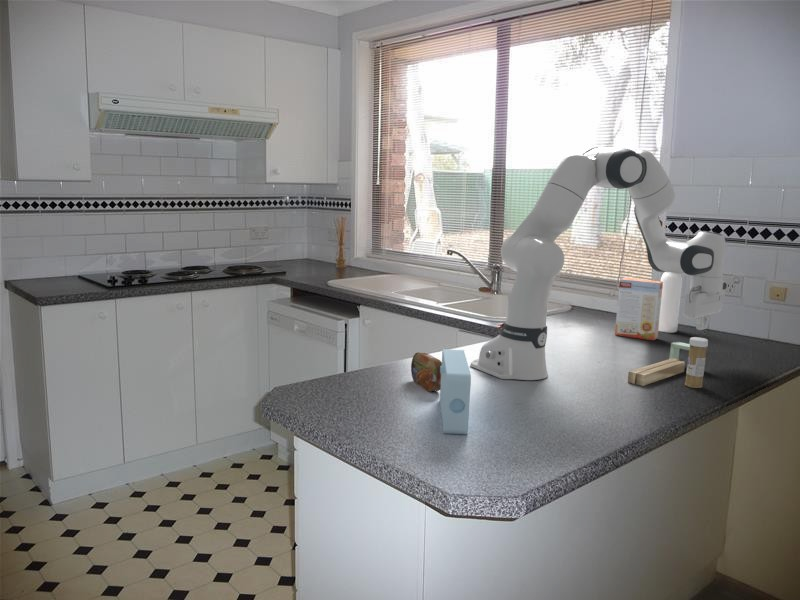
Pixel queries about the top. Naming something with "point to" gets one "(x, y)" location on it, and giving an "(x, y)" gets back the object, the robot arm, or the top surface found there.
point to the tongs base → (633, 374)
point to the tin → (426, 371)
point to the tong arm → (660, 373)
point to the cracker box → (638, 308)
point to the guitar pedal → (455, 392)
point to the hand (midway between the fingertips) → (701, 329)
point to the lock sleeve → (677, 349)
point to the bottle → (670, 302)
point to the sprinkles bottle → (696, 362)
